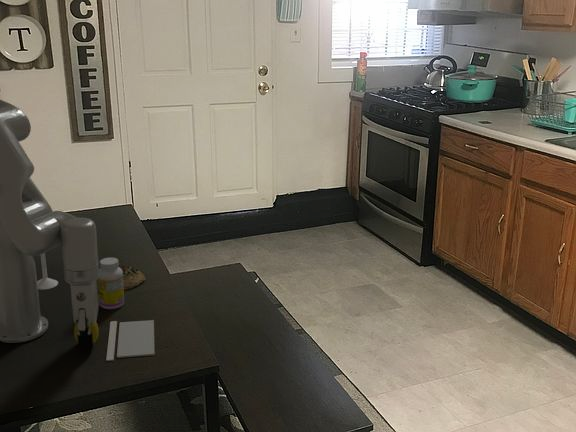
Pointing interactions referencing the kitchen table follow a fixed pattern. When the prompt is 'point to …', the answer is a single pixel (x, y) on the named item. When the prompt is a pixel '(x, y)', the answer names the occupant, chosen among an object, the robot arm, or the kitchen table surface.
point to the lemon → (93, 330)
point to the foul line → (111, 341)
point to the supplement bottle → (110, 284)
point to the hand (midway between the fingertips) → (87, 340)
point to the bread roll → (131, 277)
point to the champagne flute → (45, 276)
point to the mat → (136, 339)
